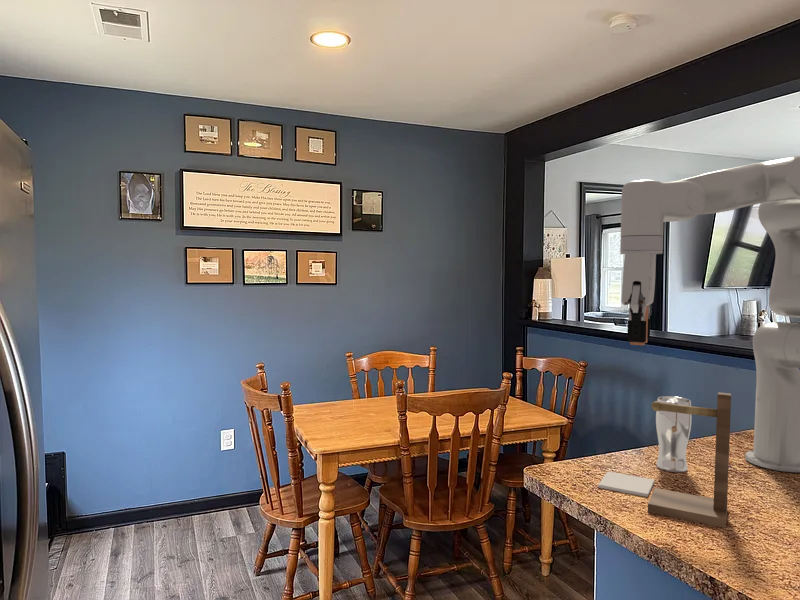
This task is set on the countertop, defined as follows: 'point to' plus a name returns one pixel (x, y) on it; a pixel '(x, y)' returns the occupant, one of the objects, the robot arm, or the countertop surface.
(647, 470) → the countertop surface
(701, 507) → the stand
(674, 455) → the beer glass
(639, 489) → the trivet
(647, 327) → the link
